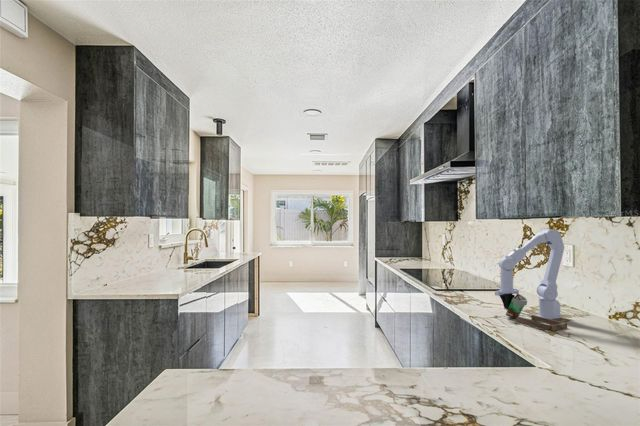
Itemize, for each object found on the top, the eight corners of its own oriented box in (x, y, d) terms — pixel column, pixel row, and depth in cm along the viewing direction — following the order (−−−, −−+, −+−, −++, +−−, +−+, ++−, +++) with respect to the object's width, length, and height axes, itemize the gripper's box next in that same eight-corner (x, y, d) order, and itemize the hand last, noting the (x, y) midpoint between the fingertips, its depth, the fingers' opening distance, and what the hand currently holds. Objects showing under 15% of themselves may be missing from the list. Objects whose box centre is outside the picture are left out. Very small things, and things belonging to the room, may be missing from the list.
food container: (517, 322, 183) (526, 303, 181) (504, 315, 186) (512, 297, 184) (522, 316, 193) (530, 298, 191) (509, 310, 196) (517, 292, 194)
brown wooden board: (532, 319, 186) (532, 315, 186) (567, 327, 170) (567, 323, 170) (516, 321, 182) (516, 317, 182) (550, 330, 166) (550, 326, 166)
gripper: (510, 279, 200) (510, 305, 199) (489, 281, 194) (490, 308, 194) (522, 281, 193) (522, 308, 193) (501, 283, 188) (501, 311, 187)
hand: (507, 308), depth 193 cm, fingers closed
